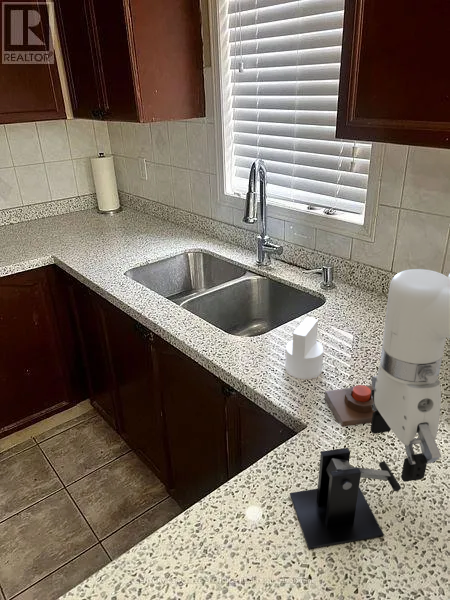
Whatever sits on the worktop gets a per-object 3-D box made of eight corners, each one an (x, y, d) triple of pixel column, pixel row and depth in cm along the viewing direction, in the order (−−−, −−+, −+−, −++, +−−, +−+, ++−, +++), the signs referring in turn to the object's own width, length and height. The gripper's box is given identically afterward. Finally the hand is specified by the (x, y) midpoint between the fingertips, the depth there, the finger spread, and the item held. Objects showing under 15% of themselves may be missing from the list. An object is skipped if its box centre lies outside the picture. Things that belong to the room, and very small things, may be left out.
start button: (365, 390, 96) (366, 383, 95) (372, 401, 93) (374, 394, 92) (349, 392, 96) (350, 385, 95) (356, 403, 92) (357, 396, 92)
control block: (375, 392, 101) (377, 377, 99) (397, 422, 92) (399, 407, 90) (324, 398, 100) (325, 384, 98) (341, 430, 91) (343, 414, 89)
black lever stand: (356, 488, 78) (364, 432, 72) (382, 540, 69) (394, 482, 63) (289, 498, 76) (292, 443, 71) (308, 553, 68) (313, 495, 62)
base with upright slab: (293, 354, 116) (295, 313, 110) (327, 363, 111) (330, 321, 106) (279, 373, 109) (280, 330, 103) (314, 383, 105) (317, 339, 99)
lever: (382, 469, 73) (388, 458, 72) (397, 494, 69) (404, 483, 68) (322, 462, 70) (328, 451, 69) (334, 488, 66) (340, 476, 65)
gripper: (477, 395, 53) (452, 496, 61) (403, 325, 68) (391, 412, 76) (418, 404, 52) (400, 505, 60) (357, 331, 68) (349, 419, 75)
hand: (395, 453), depth 68 cm, fingers open, 9 cm apart
